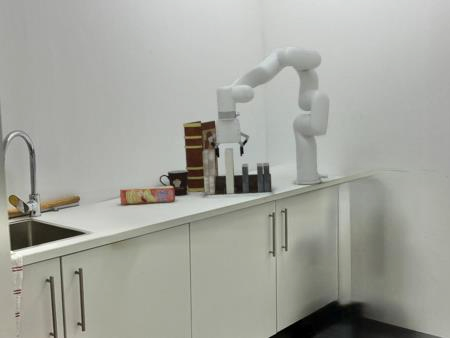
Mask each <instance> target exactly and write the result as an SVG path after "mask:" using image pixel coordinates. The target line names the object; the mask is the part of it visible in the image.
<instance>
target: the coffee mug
mask: <svg viewBox="0 0 450 338" xmlns="http://www.w3.org/2000/svg"><path fill="white" fill-rule="evenodd" d="M162 177H166V178H167V180H168V182H169V186H173V187H174V190H175V197H181V196H186V195H188V191H187V188H188V184H187V183H188V171H187V169H180V170H170V171H167V174H162V175H161V176H159V182H160V183H161V185H162V186H168V185H167V184H166V183H164V182H163V181H162Z"/></svg>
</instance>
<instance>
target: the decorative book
mask: <svg viewBox="0 0 450 338" xmlns="http://www.w3.org/2000/svg"><path fill="white" fill-rule="evenodd" d="M182 127H183V133H184V136H183V139H184V149H185V165H186V166H185V170H187V171H188V183H187V192H190V193H195V192H196V193H198V192H205V187H204V169H203V151H204V150H205V149H214V153H215V171H216V176H219V163H218V162H219V160H218V157H217V156H216V151H215V147H213V146H212V145H211V143H210V142H209V140H208V138H209V137H211V136H213V135H214V134H216V121H215V120H210V121H205V122H202V121H201V120H197V121H192V122H186V123H185V122H184V123H182ZM212 141H213V142H214V143H215V144H217V139H216V137H215V138H213V139H212Z"/></svg>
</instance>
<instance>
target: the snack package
mask: <svg viewBox="0 0 450 338" xmlns="http://www.w3.org/2000/svg"><path fill="white" fill-rule="evenodd" d="M119 196H120V205H122V206H126V205H137V204H155V203H174V202H175V199H176V196H175V190H174V187H173V186H170V185H167V186H164V185H162V186H157V185H156V186H155V185H153V186H137V187H136V186H135V187H133V186H132V187H121V188H120V190H119Z"/></svg>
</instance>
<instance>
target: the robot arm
mask: <svg viewBox="0 0 450 338" xmlns="http://www.w3.org/2000/svg"><path fill="white" fill-rule="evenodd" d="M321 63H322V56H321V54H320V52H318V50H316V49H312V48H305V47H299V46H294V45H293V46H291V45H290V46H289V45H288V46H282V47H281V46H280V47H277V48H275V49H274V50H273V51H272V52H270V53H269V54H268V56H266V57H265V58H264V59H262V61H261V62H260V63H258V65H256V66H254V67H253V68H251V69H250V70H249V71H247V72H245V73H244V74H242V75H241V76H239V77H238V78H237V79H236V80H234V81H233V82H232V83H231V85H225V86H218V87H217V88H216V103H217V117H218V119H216V122H215V125H216V134H214V135H213V136H211V137H209V138H208V140H209V142H210V143H211V145H212V146H213V147H215V151H216V156H217V159H218V158H220V155H221V154H220V147H219V146H220V144H236V143H237V144H238V145H239V155H240V157H243V155H244V154H245V152H244V146H245V145H246V144H247V143H248V142H249V139H250V135H249V134H246V133H244V132H242V131H241V124H240V119H239V118H238V117H240V116H241V115H240V113H241V112H237V106H236V104H246V103H250V102H251V101H252V100H253V99H254V97H255V90H254V88H256V87H259V86H262V85H265V84H267V83H269V82H271V81H272V80H273V79H274V78H275V77H276V76H277V75H278V74H279V73H280V72H281V71H282V70H283V69H284V68H286V67H292V68H293V69H294V70H295V72H296V73H297V74H298V77H299V87H298V88H299V89H298V99H297V100H298V101H297V105H298V107H299V109H300V110H301V111H303V112H310V113H301V114H299V115H297V116H296V117H295V118H294V119H293V122H292V129H293V135H294V139H295V140H294V141H295V158H296V159H295V160H296V162H295V163H296V179H294V180H293V182H294V183H297V184H298V185H303V186H304V185H316V184H320V183H322V179H328V178H329V177H328V176H329V175H328V173H319V172H318V151H317V150H318V146H317V139H316V137H319V136H322V135H323V134H325V132H327V131H326V130H327V127H328V124H329V123H328V122H329V114H330V113H329V112H330V98H329V95H328V94H327V93H326V92H325V91H324V90H321V89H319V75H318V73H317V70H316V69H317V68H319V67H320V65H321ZM215 137H216V140H217V144H215V143H214V142H213V141H212V139H213V138H215ZM242 137H243V138H245V139H244V140H243V142H242V141H241V140H242Z"/></svg>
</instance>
